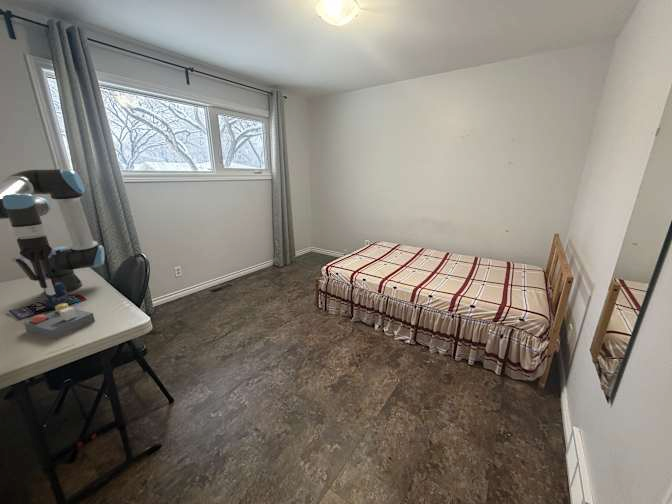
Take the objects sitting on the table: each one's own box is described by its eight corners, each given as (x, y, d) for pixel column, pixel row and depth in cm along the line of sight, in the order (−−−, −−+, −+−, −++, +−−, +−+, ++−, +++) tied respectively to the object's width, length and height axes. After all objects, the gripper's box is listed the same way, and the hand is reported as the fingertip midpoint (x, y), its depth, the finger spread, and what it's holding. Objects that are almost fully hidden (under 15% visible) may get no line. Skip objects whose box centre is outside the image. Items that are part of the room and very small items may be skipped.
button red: (30, 324, 110) (28, 318, 109) (43, 319, 113) (41, 313, 113) (37, 326, 109) (34, 319, 108) (49, 321, 112) (47, 315, 111)
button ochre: (54, 312, 117) (52, 306, 116) (65, 308, 120) (63, 302, 120) (60, 314, 116) (58, 308, 115) (71, 309, 119) (69, 303, 118)
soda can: (58, 310, 127) (50, 287, 123) (46, 309, 128) (38, 286, 125) (74, 303, 133) (67, 281, 130) (63, 302, 134) (56, 280, 131)
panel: (27, 331, 110) (23, 322, 109) (68, 314, 123) (65, 306, 122) (54, 339, 105) (51, 330, 104) (95, 321, 118) (92, 312, 117)
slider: (61, 319, 111) (58, 310, 110) (72, 315, 114) (69, 306, 113) (66, 320, 110) (63, 312, 109) (77, 316, 113) (74, 307, 112)
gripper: (11, 241, 92) (34, 303, 99) (59, 233, 104) (77, 289, 111) (0, 239, 95) (23, 299, 102) (48, 231, 106) (65, 286, 113)
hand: (51, 294), depth 106 cm, fingers closed
